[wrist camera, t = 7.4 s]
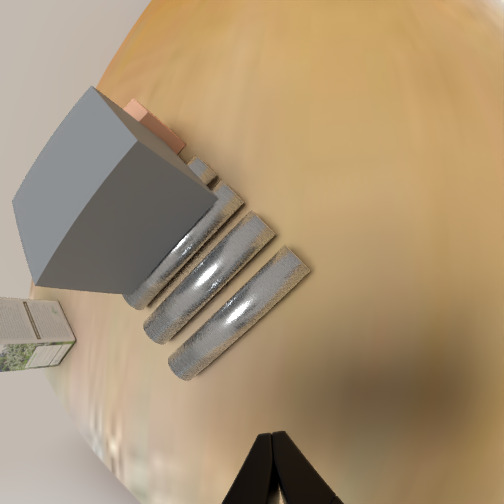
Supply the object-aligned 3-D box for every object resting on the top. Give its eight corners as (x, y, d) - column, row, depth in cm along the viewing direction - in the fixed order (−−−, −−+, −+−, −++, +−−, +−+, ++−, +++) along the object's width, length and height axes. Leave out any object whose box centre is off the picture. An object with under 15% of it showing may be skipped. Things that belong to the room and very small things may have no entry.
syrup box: (58, 298, 29) (-53, 286, 16) (78, 342, 27) (-44, 344, 14) (41, 327, 30) (-60, 323, 16) (59, 368, 28) (-49, 376, 14)
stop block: (186, 144, 26) (148, 111, 21) (105, 238, 28) (59, 225, 22) (170, 129, 27) (133, 98, 22) (95, 219, 29) (51, 204, 23)
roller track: (312, 272, 21) (307, 268, 19) (197, 377, 22) (181, 383, 20) (204, 162, 25) (191, 150, 23) (118, 260, 27) (100, 257, 24)
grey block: (218, 198, 21) (137, 140, 13) (131, 294, 22) (34, 285, 14) (163, 141, 24) (91, 85, 15) (92, 227, 25) (11, 201, 17)
